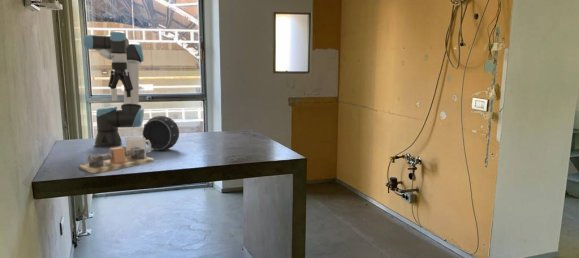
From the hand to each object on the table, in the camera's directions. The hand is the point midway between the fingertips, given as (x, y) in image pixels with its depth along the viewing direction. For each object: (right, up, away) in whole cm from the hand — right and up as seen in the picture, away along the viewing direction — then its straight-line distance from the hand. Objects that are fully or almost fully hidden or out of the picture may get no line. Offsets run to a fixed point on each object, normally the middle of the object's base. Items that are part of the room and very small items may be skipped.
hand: (121, 102), depth 232 cm
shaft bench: (+4, -32, -14) cm, 36 cm away
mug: (+8, -30, +4) cm, 31 cm away
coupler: (+4, -31, -15) cm, 34 cm away
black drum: (+15, -27, +21) cm, 38 cm away
